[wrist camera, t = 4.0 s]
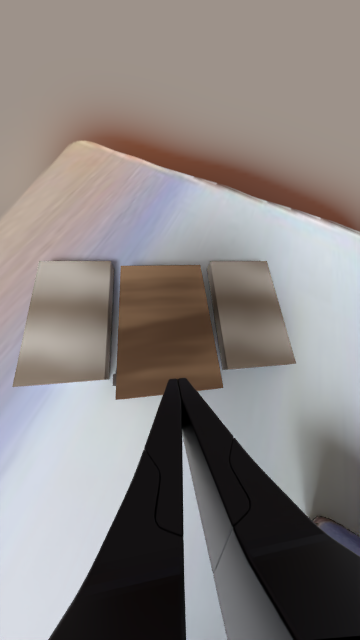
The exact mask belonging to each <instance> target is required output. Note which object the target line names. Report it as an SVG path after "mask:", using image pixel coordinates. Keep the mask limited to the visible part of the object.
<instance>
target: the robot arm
mask: <svg viewBox="0 0 360 640" xmlns="http://www.w3.org/2000/svg"><path fill="white" fill-rule="evenodd" d="M182 435H183V440H184V444H185V449H186V453H187V458H188V462H189V467H190V472H191V476H192V481H193V485H194V490H195V494H196V499H197V503H198V508H199V512H200V517H201V521H202V526H203V531H204V535H205V540H206V544H207V549H208V553H209V558H210V562H211V567H212V571H213V574H214V575H213V576H214V581H215V585H216V590H217V594H218V599H219V603H220V608H221V612H222V617H223V621H224V626H225V631H226V635H227V640H360V556H359V555H357V554H356V553H354V552H353V551H351V550H350V549H348V548H347V547H345V546H344V545H342V544H341V543H339V542H338V541H336V540H335V539H333V538H332V537H331V536H329V535H328V534H327V533H325V532H324V531H323V530H322V529H321V528H319V527H318V526H317V525H316V524H315V523H314V522H313V521H312V520H310V519H309V518H308V517H307V516H306V515H305V514H304V513H303V512H302V511H301V509H300V508H299V507H298V506H297V505H296V504H295V503H294V502H293V501H292V500H291V499H290V498H289V497H288V496H287V495H286V494H285V493H284V492H283V491H282V490H281V489H280V488H279V487H278V486H277V485H276V484H275V483H274V482H273V481H272V480H271V478H270V477H269V476H268V475H267V474H266V473H265V472H264V471H263V470H262V469H261V468H260V467H259V466H258V465H257V464H256V463H255V461H254V460H253V459H252V458H251V457H250V456H249V455H248V453H247V452H246V451H245V450H244V449H243V448H242V446H241V445H240V444H239V443H238V441H237V440H236V439H235V438H233V435H232V434H231V433H230V432H229V430H228V429H227V428H226V427H225V425H224V424H223V423H222V422H221V420H220V419H219V418H218V417H217V415H216V414H215V413H214V412H213V411H212V409H211V408H210V407H209V406H208V404H207V403H206V402H205V401H204V399H203V398H202V397H201V396H200V394H199V393H198V392H197V391H196V390H195V388H194V387H193V386H192V385H191V383H190V382H189V381H188V380H187V378H178V379H176V378H174V379H169V380H168V383H167V385H166V388H165V391H164V394H163V397H162V400H161V402H160V405H159V408H158V411H157V414H156V417H155V419H154V422H153V425H152V428H151V431H150V433H149V436H148V439H147V442H146V445H145V448H144V450H143V453H142V456H141V459H140V461H139V464H138V467H137V469H136V472H135V474H134V477H133V479H132V482H131V484H130V486H129V488H128V491H127V493H126V495H125V497H124V500H123V502H122V504H121V506H120V508H119V510H118V512H117V515H116V517H115V519H114V521H113V523H112V525H111V527H110V529H109V531H108V534H107V536H106V538H105V540H104V542H103V544H102V546H101V548H100V551H99V553H98V555H97V557H96V559H95V561H94V563H93V565H92V567H91V569H90V571H89V573H88V575H87V577H86V578H85V580H84V582H83V584H82V586H81V588H80V589H79V591H78V593H77V595H76V596H75V598H74V600H73V601H72V603H71V605H70V606H69V608H68V609H67V611H66V613H65V614H64V616H63V617H62V619H61V620H60V622H59V624H58V625H57V627H56V628H55V630H54V631H53V633H52V635H51V636H50V638H49V639H48V640H186V621H185V589H184V543H183V468H182Z"/></svg>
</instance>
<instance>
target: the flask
mask: <svg viewBox="0 0 360 640" xmlns="http://www.w3.org/2000/svg"><path fill="white" fill-rule="evenodd" d="M313 522H314V523H318V524H317V526H318V527H319V528H321V529H322V530H323V531H324V532H325V533H327V534H328V535H329V536H331V537H332V538H333V539H335V540H336V541H338V542H339V543H341V544H342V545H344V546H345V547H347V548H348V549H350V550H351V551H353V552H354V553H356V554H357V555H359V556H360V537H359V536H357V535H356V534H354V533H353V532H351V531H350V530H348V529H346V528H344V527H343V526H342V525H341V524H338V523H336V522H335V521H333V520H331V519H329V518H326V517H321V516H320V517H318V516H317V517H316V518H315V519H314V520H313Z"/></svg>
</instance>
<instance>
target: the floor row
mask: <svg viewBox="0 0 360 640" xmlns="http://www.w3.org/2000/svg"><path fill="white" fill-rule="evenodd" d="M207 272H208V279H209V285H210V292H211V298H212V305H213V311H214V318H215V324H216V331H217V337H218V344H219V350H220V357H221V363H222V370H228V369H240V368H252V367H264V366H276V365H287V364H295V363H296V361H295V358H294V354H293V351H292V348H291V344H290V341H289V337H288V334H287V330H286V327H285V323H284V320H283V316H282V313H281V309H280V306H279V302H278V299H277V295H276V292H275V289H274V285H273V282H272V278H271V275H270V271H269V268H268V264H267V261H210V263H209V265H208V268H207ZM113 285H114V268H113V265H112V263H111V261H39V264H38V269H37V274H36V278H35V283H34V288H33V292H32V297H31V302H30V306H29V311H28V316H27V321H26V325H25V330H24V335H23V339H22V344H21V349H20V354H19V358H18V363H17V368H16V372H15V377H14V382H13V387H18V386H34V385H46V384H58V383H70V382H82V381H94V380H107V379H109V372H110V350H111V329H112V307H113ZM116 376H117V374H113V386H116Z"/></svg>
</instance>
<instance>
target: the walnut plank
mask: <svg viewBox="0 0 360 640" xmlns="http://www.w3.org/2000/svg"><path fill="white" fill-rule="evenodd" d="M174 378H176V379H178V378H187V380H188V381H189V382H190V383H191V385H192V386H193V387H194V388H195V390H196V391H201V390H210V389H218V388H223V383H222V378H221V373H220V367H219V362H218V357H217V351H216V346H215V341H214V336H213V330H212V325H211V320H210V314H209V309H208V304H207V298H206V293H205V288H204V283H203V277H202V272H201V267H200V265H161V266H121V276H120V301H119V326H118V351H117V376H116V400H118V399H129V398H138V397H147V396H156V395H163V394H164V391H165V388H166V385H167V383H168V380H169V379H174Z"/></svg>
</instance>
